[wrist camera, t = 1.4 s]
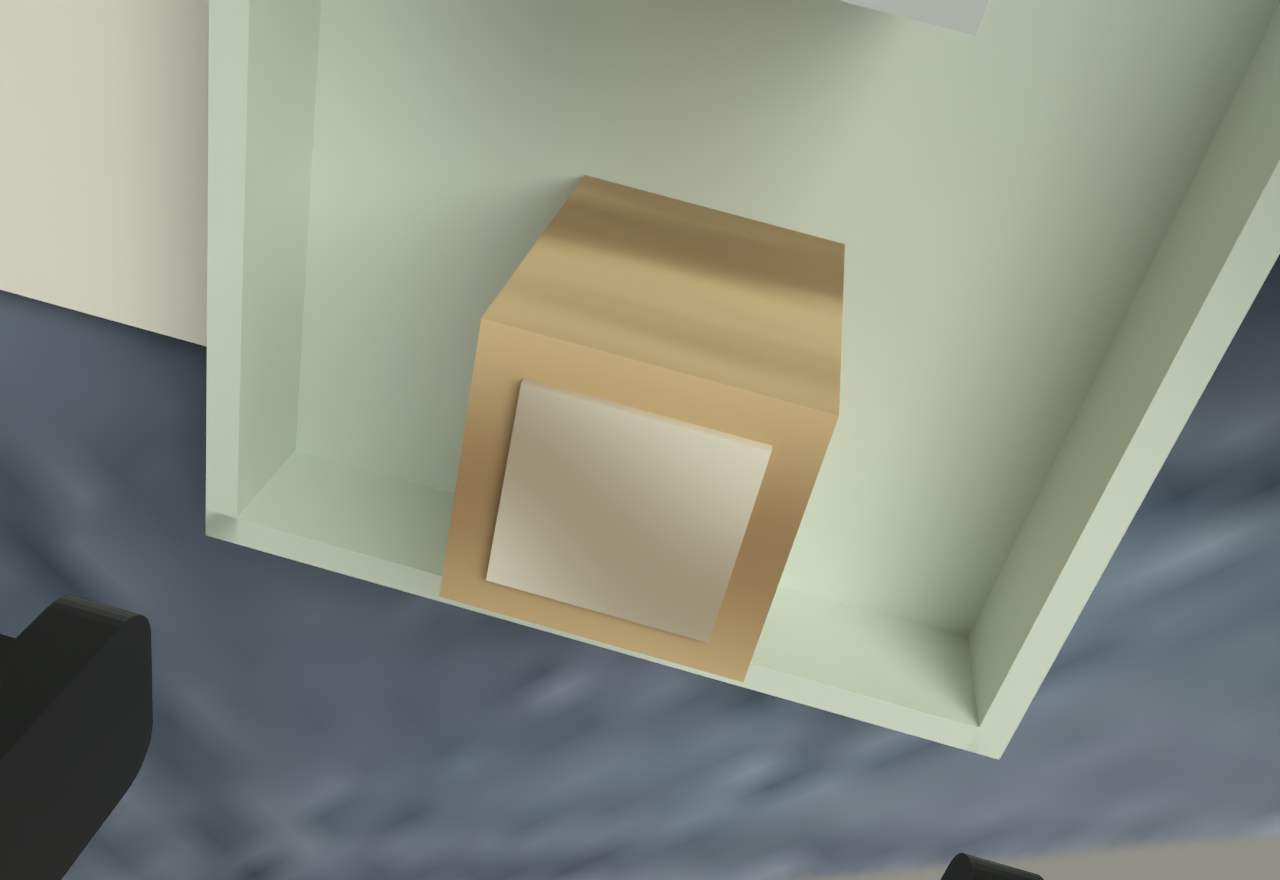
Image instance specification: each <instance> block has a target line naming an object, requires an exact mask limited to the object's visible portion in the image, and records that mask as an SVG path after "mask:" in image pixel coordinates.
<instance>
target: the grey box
mask: <svg viewBox="0 0 1280 880" xmlns="http://www.w3.org/2000/svg"><path fill="white" fill-rule="evenodd" d="M839 1H843V2H847V3H850V4H854V5H858V6H862V7H866V8H870V9H874V10H878V11H881V12H885V13H889V14H893V15H897V16H901V17H905V18H908V19H912V20H916V21H920V22H924V23H928V24H932V25H936V26H939V27H943V28H947V29H951V30H955V31H959V32H963V33H966V34H970V35H974V36H976V33H977V30H978V27H979V25H980V22H981V19H982V16H983V13H984V11H985V8H986V5H987V2H988V0H839Z"/></svg>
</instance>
